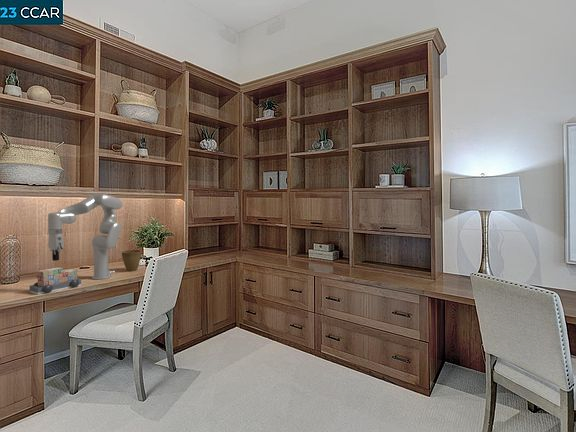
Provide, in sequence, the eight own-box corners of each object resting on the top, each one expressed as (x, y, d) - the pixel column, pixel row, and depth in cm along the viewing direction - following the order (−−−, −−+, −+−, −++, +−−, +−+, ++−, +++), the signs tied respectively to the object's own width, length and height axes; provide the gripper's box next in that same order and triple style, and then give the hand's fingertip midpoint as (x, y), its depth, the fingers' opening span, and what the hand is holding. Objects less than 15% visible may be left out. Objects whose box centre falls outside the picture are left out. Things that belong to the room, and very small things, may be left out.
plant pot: (121, 269, 282) (121, 250, 281) (140, 268, 289) (140, 249, 288) (122, 273, 268) (121, 253, 268) (142, 271, 276) (142, 251, 275)
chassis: (71, 283, 235) (71, 276, 235) (82, 285, 228) (82, 278, 228) (28, 291, 213) (28, 283, 212) (39, 294, 206) (39, 286, 206)
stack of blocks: (71, 282, 232) (71, 264, 232) (77, 283, 230) (77, 265, 229) (37, 290, 213) (37, 270, 212) (43, 291, 210) (43, 271, 210)
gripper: (67, 232, 218) (68, 260, 219) (55, 231, 226) (56, 258, 226) (55, 233, 212) (55, 262, 212) (42, 231, 219) (43, 260, 220)
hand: (55, 260), depth 219 cm, fingers closed
